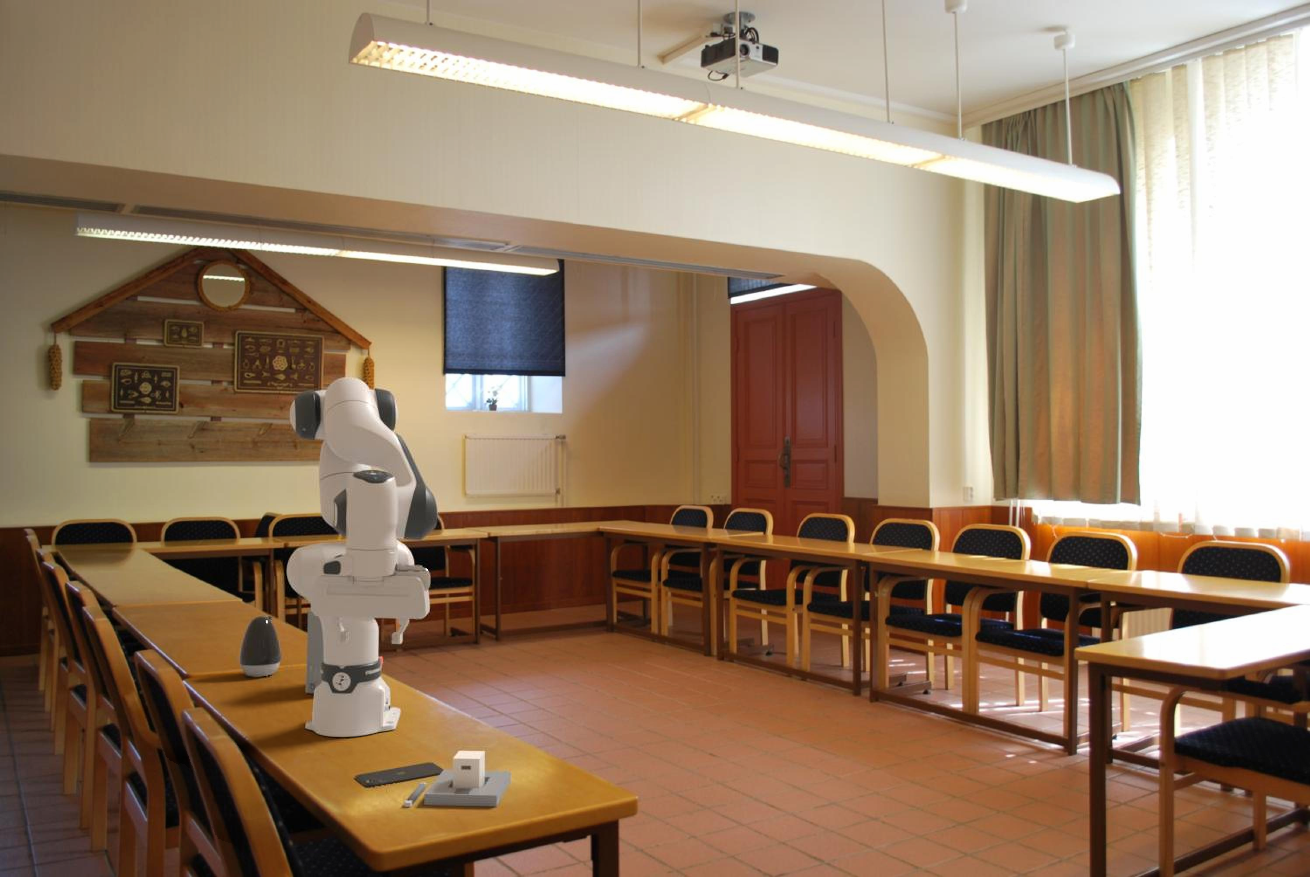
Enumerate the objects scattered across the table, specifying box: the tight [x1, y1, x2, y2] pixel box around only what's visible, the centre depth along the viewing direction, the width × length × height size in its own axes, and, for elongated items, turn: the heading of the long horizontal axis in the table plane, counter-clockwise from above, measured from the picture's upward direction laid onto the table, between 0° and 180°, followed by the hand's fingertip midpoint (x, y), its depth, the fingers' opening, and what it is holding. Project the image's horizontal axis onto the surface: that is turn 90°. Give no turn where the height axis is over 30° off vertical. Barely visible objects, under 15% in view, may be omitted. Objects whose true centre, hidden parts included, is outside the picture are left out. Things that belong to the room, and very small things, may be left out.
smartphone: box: [354, 761, 445, 788], centre depth 187 cm, size 7×1×15 cm
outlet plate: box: [423, 769, 512, 807], centre depth 178 cm, size 13×12×2 cm
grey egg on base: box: [238, 615, 282, 678], centre depth 268 cm, size 10×10×15 cm
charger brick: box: [452, 750, 486, 788], centre depth 178 cm, size 5×4×6 cm
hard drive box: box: [305, 609, 324, 695], centre depth 254 cm, size 16×8×20 cm, turn 161°
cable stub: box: [403, 782, 428, 808], centre depth 176 cm, size 10×1×1 cm, turn 178°
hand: (370, 642), depth 182 cm, fingers open, 8 cm apart
